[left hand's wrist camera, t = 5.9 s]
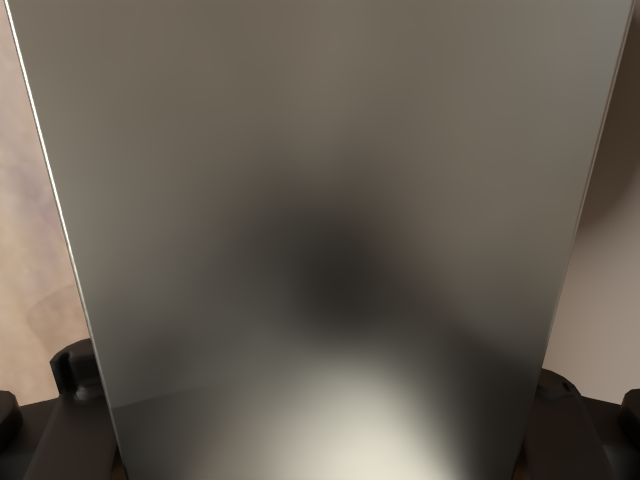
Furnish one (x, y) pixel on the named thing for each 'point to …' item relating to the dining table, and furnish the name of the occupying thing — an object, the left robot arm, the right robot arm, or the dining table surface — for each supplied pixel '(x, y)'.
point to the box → (319, 220)
